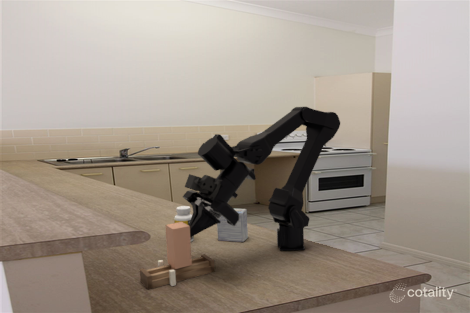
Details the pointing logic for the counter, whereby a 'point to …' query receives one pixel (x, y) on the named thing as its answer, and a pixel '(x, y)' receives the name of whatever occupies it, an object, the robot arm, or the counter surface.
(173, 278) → the pair of white blocks
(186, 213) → the supplement bottle
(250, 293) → the counter surface
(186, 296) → the counter surface
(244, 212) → the medicine box
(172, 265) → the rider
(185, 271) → the wooden tray
